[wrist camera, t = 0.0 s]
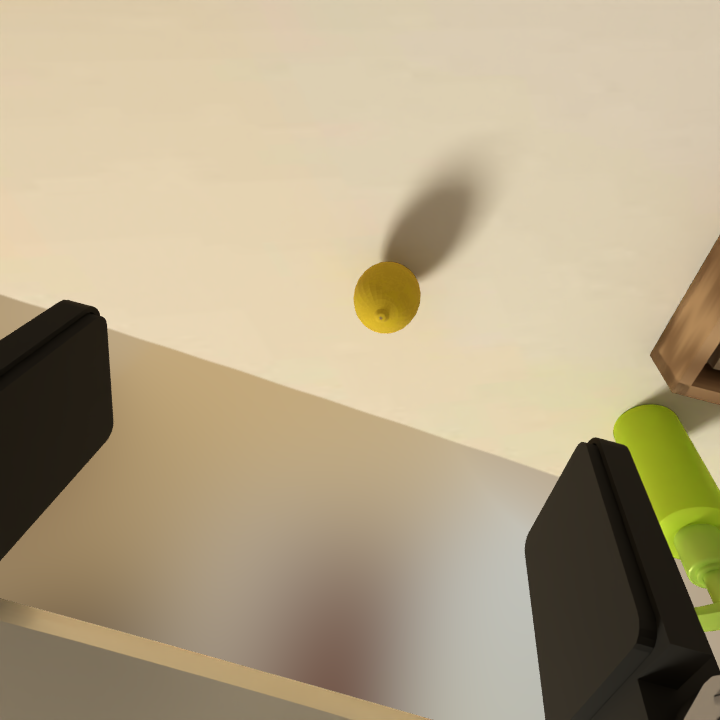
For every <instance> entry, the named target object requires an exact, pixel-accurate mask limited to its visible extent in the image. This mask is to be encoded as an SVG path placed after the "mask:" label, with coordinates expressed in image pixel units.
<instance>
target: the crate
mask: <svg viewBox="0 0 720 720" xmlns="http://www.w3.org/2000/svg"><path fill="white" fill-rule="evenodd" d="M650 356H651V358H652V360H653V361H654V363H655V365H656V366H657V368H658V370H659V371H660V373H661V375H662V376H663V378H664V380H665V381H666V383H667V385H668V386H669V388H670V390H671V391H672V393H676V394H680V395H684V396H688V397H692V398H696V399H699V400H703V401H707V402H711V403H715V404H719V405H720V236H719V237H718V239H717V241H716V242H715V244H714V246H713V248H712V249H711V251H710V253H709V254H708V256H707V258H706V260H705V261H704V263H703V265H702V266H701V268H700V270H699V272H698V273H697V275H696V277H695V278H694V280H693V282H692V284H691V285H690V287H689V289H688V290H687V292H686V294H685V296H684V297H683V299H682V301H681V302H680V304H679V306H678V308H677V309H676V311H675V313H674V314H673V316H672V318H671V320H670V321H669V323H668V325H667V326H666V328H665V330H664V332H663V333H662V335H661V337H660V338H659V340H658V342H657V344H656V345H655V347H654V349H653V350H652V352H651V354H650Z"/></svg>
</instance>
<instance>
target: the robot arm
mask: <svg viewBox="0 0 720 720" xmlns="http://www.w3.org/2000/svg"><path fill="white" fill-rule="evenodd" d="M112 428H113V409H112V395H111V379H110V364H109V349H108V333H107V323H106V320H105V318H104V317H102V316H100V313H99V311H98V309H96V308H95V307H93V306H89V305H85V304H81V303H77V302H73V301H70V300H62V301H60V302H58V303H57V304H55V305H54V306H52V307H51V308H49V309H48V310H46V311H45V312H43V313H41V314H40V315H38V316H37V317H35V318H34V319H32V320H31V321H29V322H28V323H26V324H25V325H23V326H21V327H20V328H18V329H17V330H15V331H14V332H12V333H11V334H9V335H8V336H6V337H5V338H3V339H1V340H0V561H1V559H2V558H3V557H4V556H5V555H6V554H7V553H8V551H9V550H10V549H11V548H12V547H13V546H14V545H15V544H16V542H17V541H18V540H19V539H20V538H21V537H22V536H23V534H24V533H25V532H26V531H27V530H28V529H29V528H30V526H31V525H32V524H33V523H34V522H35V521H36V520H37V519H38V518H39V516H40V515H41V514H42V513H43V512H44V511H45V509H47V507H48V506H49V505H50V504H51V503H52V502H53V501H54V500H55V498H56V497H57V496H58V495H59V494H60V492H62V490H63V489H64V488H65V487H66V486H67V485H68V484H69V483H70V481H71V480H72V479H73V478H74V477H75V476H76V475H77V473H78V472H79V471H80V470H81V469H82V468H83V467H84V465H85V464H86V463H87V462H88V461H89V460H90V459H91V458H92V456H94V454H95V453H96V452H97V451H98V450H99V449H100V448H101V446H102V445H103V444H104V443H105V442H106V441H107V439H108V438H109V436H110V434H111V432H112ZM525 558H526V566H527V574H528V582H529V590H530V598H531V607H532V615H533V623H534V630H535V639H536V647H537V654H538V663H539V671H540V679H541V687H542V695H543V703H544V712H545V720H720V670H719V667H718V665H717V662H716V660H715V657H714V655H713V653H712V650H711V648H710V645H709V643H708V640H707V638H706V635H705V633H704V631H703V628H702V626H701V623H700V621H699V618H698V616H697V614H696V611H695V609H694V606H693V604H692V601H691V599H690V597H689V594H688V592H687V589H686V587H685V584H684V582H683V579H682V577H681V575H680V572H679V570H678V567H677V565H676V562H675V560H674V557H673V555H672V553H671V550H670V548H669V545H668V543H667V540H666V538H665V536H664V534H663V531H662V529H661V526H660V524H659V521H658V519H657V517H656V514H655V512H654V509H653V507H652V504H651V502H650V499H649V497H648V495H647V492H646V490H645V487H644V485H643V482H642V480H641V477H640V475H639V473H638V470H637V468H636V465H635V463H634V460H633V458H632V455H631V453H630V451H629V449H628V447H627V446H625V445H623V444H619V443H615V442H611V441H607V440H604V439H600V438H592V439H591V440H590V441H589V442H588V443H585V442H581V443H580V444H578V446H577V447H576V449H575V451H574V452H573V454H572V456H571V458H570V460H569V461H568V463H567V465H566V467H565V469H564V470H563V472H562V474H561V476H560V478H559V480H558V481H557V483H556V485H555V487H554V488H553V490H552V492H551V494H550V496H549V497H548V499H547V501H546V503H545V505H544V506H543V508H542V510H541V512H540V514H539V515H538V517H537V519H536V521H535V522H534V524H533V526H532V528H531V530H530V531H529V534H528V536H527V539H526V543H525ZM0 720H431V719H428V718H425V717H421V716H417V715H414V714H411V713H407V712H404V711H400V710H397V709H393V708H390V707H386V706H383V705H379V704H376V703H372V702H369V701H365V700H361V699H358V698H355V697H351V696H348V695H345V694H341V693H337V692H334V691H331V690H327V689H323V688H320V687H316V686H313V685H309V684H306V683H302V682H299V681H295V680H292V679H288V678H285V677H281V676H278V675H274V674H270V673H267V672H263V671H260V670H256V669H253V668H249V667H246V666H242V665H238V664H235V663H232V662H228V661H224V660H221V659H217V658H214V657H210V656H207V655H203V654H199V653H196V652H192V651H189V650H185V649H182V648H178V647H174V646H171V645H167V644H164V643H160V642H156V641H153V640H149V639H146V638H142V637H139V636H135V635H131V634H128V633H124V632H121V631H117V630H113V629H110V628H106V627H103V626H99V625H95V624H91V623H88V622H84V621H80V620H77V619H74V618H70V617H66V616H63V615H59V614H55V613H51V612H48V611H45V610H41V609H37V608H34V607H30V606H26V605H23V604H19V603H15V602H12V601H8V600H4V599H1V598H0Z"/></svg>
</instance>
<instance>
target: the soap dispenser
mask: <svg viewBox="0 0 720 720" xmlns="http://www.w3.org/2000/svg"><path fill="white" fill-rule="evenodd" d="M613 434H614V438H615V441H616V443H619V444H623V445H625V446H627V447H628V449H629V451H630V453H631V455H632V458H633V460H634V463H635V465H636V468H637V470H638V473H639V475H640V477H641V480H642V482H643V485H644V487H645V490H646V492H647V495H648V497H649V499H650V502H651V504H652V507H653V509H654V512H655V514H656V517H657V519H658V521H659V524H660V526H661V529H662V531H663V534H664V536H665V538H666V540H667V543H668V545H669V548H670V550H671V553H672V555H673V557H674V558H677V559H680V560H681V562H682V564H683V566H684V569H685V571H686V574H687V576H688V578H689V580H690V581H691V582H692V583H693V584H695V585H697V586H699V587H702V588H706V589H707V590H708V592H709V594H710V596H711V599H712V601H713V603H714V604H710V605H705V606H701V607H695V608H694V609H695V611H696V614H697V616H698V618H699V621H700V623H701V626H702V628H703V631H704V632H707V631H716V630H720V490H719V489H718V487H717V485H716V483H715V482H714V480H713V478H712V476H711V475H710V473H709V471H708V469H707V468H706V466H705V464H704V462H703V461H702V459H701V457H700V455H699V454H698V452H697V450H696V448H695V447H694V445H693V443H692V441H691V440H690V438H689V436H688V434H687V433H686V431H685V429H684V428H683V426H682V424H681V422H680V421H679V419H678V417H677V416H676V414H675V413H674V412H673V411H671V410H670V409H668V408H666V407H664V406H660V405H652V404H649V405H641V406H637V407H634V408H632V409H630V410H628V411H626V412H625V413H623V414H622V415H621V416H620V417H619V418H618V420H617V421H616V423H615V425H614V430H613Z"/></svg>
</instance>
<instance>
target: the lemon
mask: <svg viewBox="0 0 720 720" xmlns="http://www.w3.org/2000/svg"><path fill="white" fill-rule="evenodd" d="M420 294H421V293H420V288H419V283H418V281H417V279H416V277H415V276H414V274H413V273H412V272H411V271H410V270H409V269H408V268H406V267H405V266H403V265H401V264H398V263H396V262H381V263H378V264H376V265H373V266H372V267H370V268H369V269H367V270H366V271H365V272H364V273H363V275H362V276H361V277H360V278H359V280H358V283H357V285H356V287H355V292H354V306H355V311H356V313H357V316H358V318H359V319H360V320H361V322H362V323H363V324H364V325H365V326H366V327H367V328H369V329H371V330H373V331H375V332H379V333H393V332H396V331H398V330H401V329H403V328H404V327H405V326H406V325H407V324H409V323H410V322H411V320H412V319H413V317H414V316H415V315H416V313H417V310H418V307H419V304H420Z"/></svg>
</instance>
